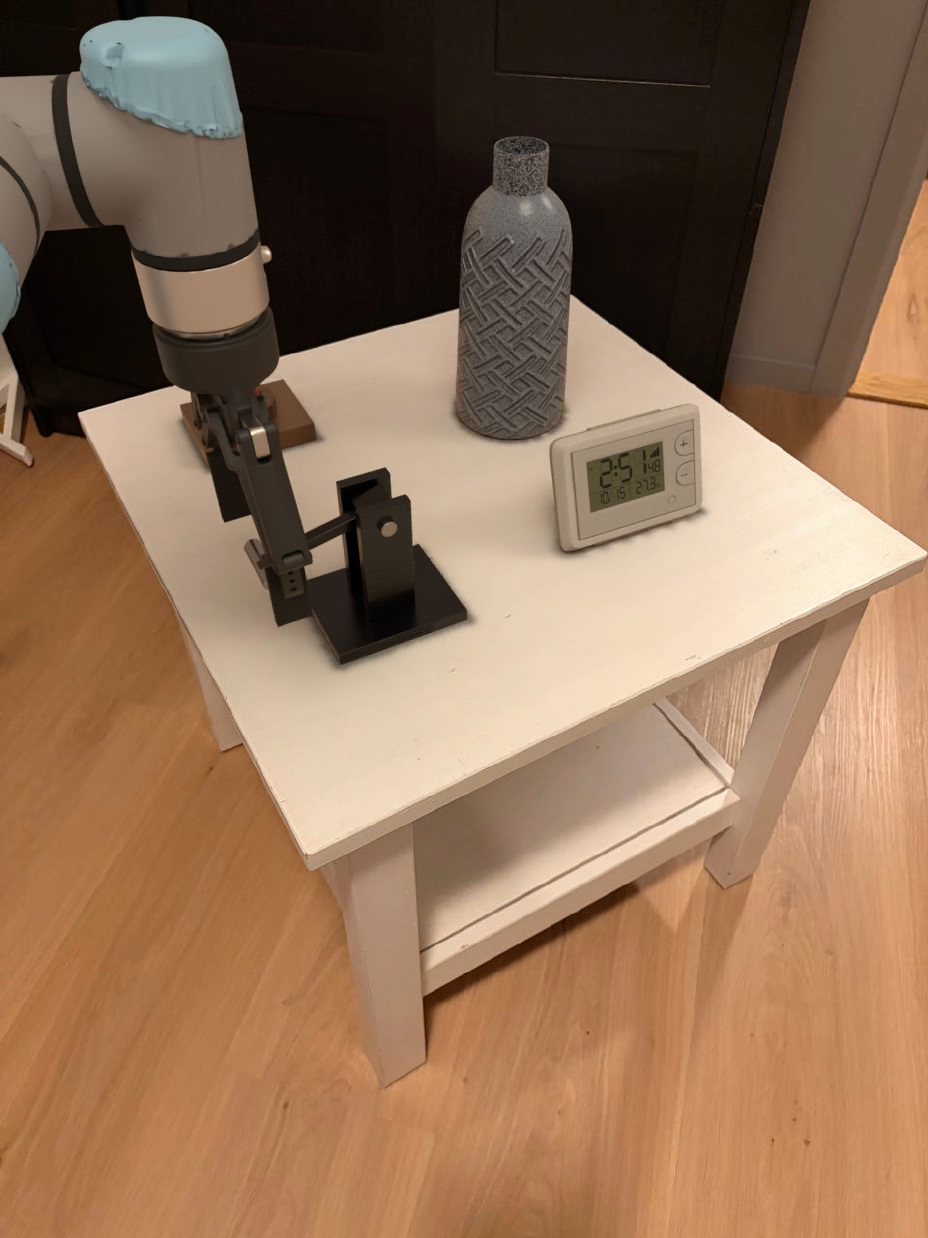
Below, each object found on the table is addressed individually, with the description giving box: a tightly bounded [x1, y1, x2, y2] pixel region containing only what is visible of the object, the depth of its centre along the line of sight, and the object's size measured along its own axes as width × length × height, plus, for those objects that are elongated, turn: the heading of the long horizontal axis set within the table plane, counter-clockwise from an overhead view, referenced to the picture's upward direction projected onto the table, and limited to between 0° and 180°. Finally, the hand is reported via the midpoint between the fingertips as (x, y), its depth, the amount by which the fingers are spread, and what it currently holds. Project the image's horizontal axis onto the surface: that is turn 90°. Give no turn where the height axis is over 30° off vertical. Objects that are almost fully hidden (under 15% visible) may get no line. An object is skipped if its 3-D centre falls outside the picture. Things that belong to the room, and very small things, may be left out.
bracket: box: [307, 466, 468, 666], centre depth 78 cm, size 12×10×13 cm
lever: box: [243, 483, 391, 591], centre depth 74 cm, size 12×5×2 cm, turn 117°
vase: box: [455, 136, 574, 440], centre depth 95 cm, size 12×12×28 cm
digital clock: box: [548, 403, 703, 552], centre depth 88 cm, size 16×9×11 cm, turn 103°
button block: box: [179, 378, 317, 470], centre depth 101 cm, size 12×10×4 cm
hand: (264, 564), depth 73 cm, fingers open, 13 cm apart
